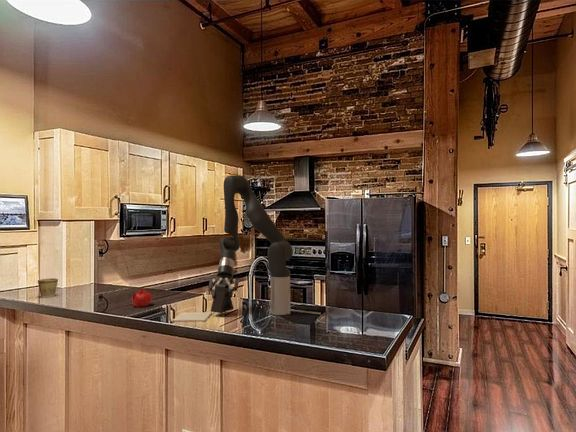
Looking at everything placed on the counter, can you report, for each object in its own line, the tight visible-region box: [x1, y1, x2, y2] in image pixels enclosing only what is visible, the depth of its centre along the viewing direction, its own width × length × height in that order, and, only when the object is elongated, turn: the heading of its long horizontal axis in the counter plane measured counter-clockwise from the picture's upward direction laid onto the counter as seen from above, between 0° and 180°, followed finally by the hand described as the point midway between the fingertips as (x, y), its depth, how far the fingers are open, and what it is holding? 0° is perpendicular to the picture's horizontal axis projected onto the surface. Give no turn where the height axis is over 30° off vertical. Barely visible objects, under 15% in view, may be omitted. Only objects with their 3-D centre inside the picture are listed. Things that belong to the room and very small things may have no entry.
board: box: [172, 311, 213, 323], centre depth 172 cm, size 14×14×1 cm
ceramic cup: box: [37, 277, 59, 299], centre depth 224 cm, size 13×10×10 cm
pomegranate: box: [131, 287, 153, 308], centre depth 197 cm, size 10×10×9 cm
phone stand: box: [210, 283, 235, 314], centre depth 177 cm, size 9×6×12 cm, turn 147°
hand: (221, 297), depth 176 cm, fingers closed on phone stand, 6 cm apart
